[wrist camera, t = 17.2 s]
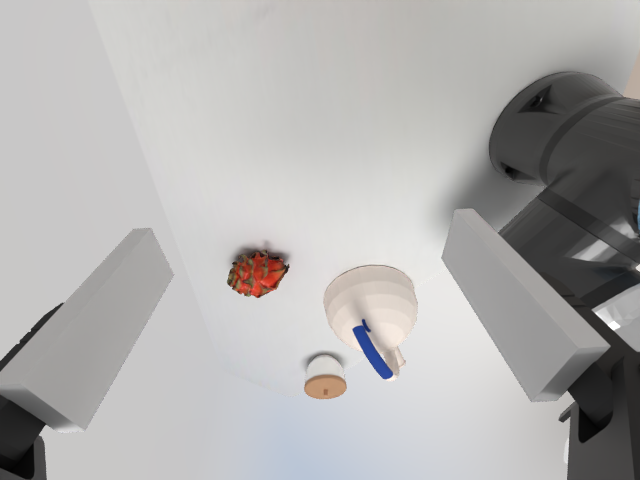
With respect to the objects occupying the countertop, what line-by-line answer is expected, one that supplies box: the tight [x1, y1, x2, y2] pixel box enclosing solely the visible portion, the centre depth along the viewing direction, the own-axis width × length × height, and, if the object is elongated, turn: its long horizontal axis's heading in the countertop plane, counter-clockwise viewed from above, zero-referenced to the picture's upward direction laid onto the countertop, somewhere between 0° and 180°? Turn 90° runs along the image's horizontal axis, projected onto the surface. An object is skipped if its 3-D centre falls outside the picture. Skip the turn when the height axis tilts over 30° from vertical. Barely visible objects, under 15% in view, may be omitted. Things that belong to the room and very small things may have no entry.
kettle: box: [324, 266, 418, 381], centre depth 54 cm, size 20×21×18 cm
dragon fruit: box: [227, 250, 289, 298], centre depth 51 cm, size 8×8×12 cm
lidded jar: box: [304, 355, 346, 399], centre depth 72 cm, size 11×11×9 cm
